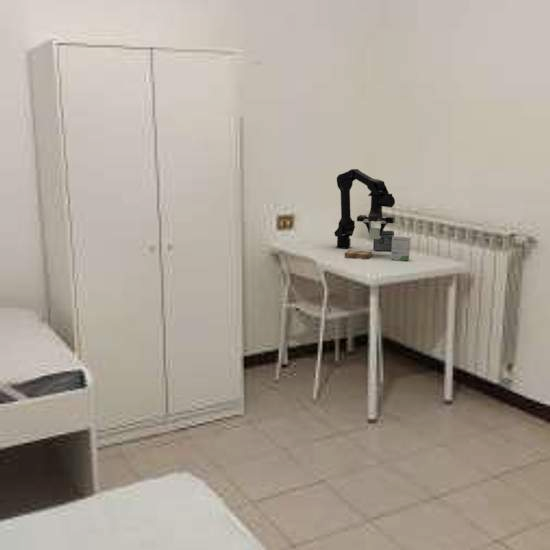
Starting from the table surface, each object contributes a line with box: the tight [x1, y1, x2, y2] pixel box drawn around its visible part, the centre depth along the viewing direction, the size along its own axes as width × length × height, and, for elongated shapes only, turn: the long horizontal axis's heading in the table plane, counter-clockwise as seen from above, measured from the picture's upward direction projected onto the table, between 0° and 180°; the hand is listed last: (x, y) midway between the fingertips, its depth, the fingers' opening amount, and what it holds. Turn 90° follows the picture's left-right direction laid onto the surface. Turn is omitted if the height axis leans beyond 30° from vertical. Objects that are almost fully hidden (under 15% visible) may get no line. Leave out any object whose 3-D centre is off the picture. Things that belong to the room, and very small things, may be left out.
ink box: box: [390, 235, 411, 261], centre depth 352 cm, size 9×5×12 cm, turn 71°
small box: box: [372, 230, 395, 252], centre depth 378 cm, size 11×6×10 cm, turn 84°
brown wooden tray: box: [344, 249, 373, 260], centre depth 359 cm, size 12×10×2 cm
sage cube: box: [368, 227, 381, 240], centre depth 364 cm, size 5×5×5 cm
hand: (375, 235), depth 364 cm, fingers closed on sage cube, 5 cm apart
